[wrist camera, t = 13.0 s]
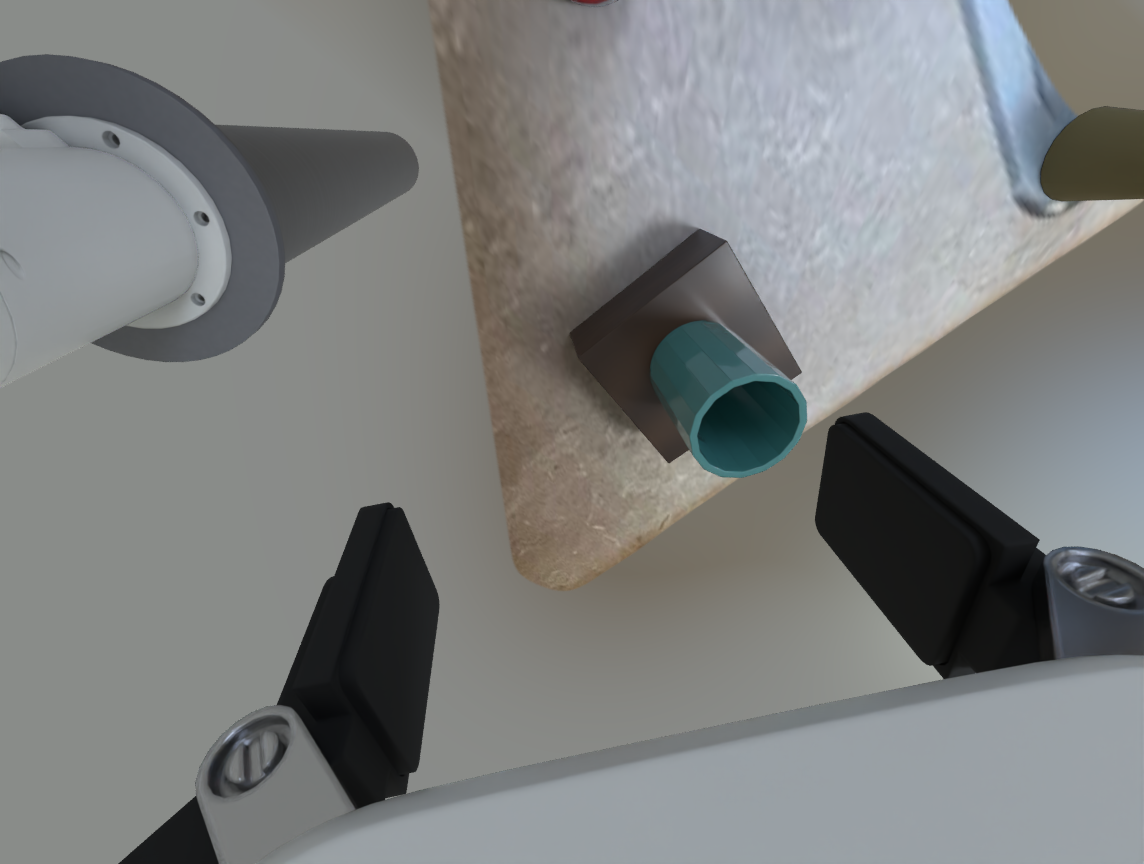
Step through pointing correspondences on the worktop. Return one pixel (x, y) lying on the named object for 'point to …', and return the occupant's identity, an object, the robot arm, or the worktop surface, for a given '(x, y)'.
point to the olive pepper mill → (1097, 157)
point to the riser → (673, 328)
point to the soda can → (594, 2)
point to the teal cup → (726, 399)
